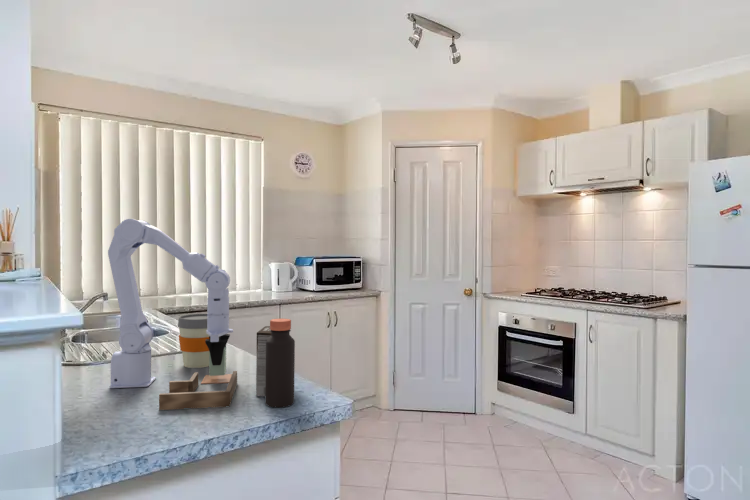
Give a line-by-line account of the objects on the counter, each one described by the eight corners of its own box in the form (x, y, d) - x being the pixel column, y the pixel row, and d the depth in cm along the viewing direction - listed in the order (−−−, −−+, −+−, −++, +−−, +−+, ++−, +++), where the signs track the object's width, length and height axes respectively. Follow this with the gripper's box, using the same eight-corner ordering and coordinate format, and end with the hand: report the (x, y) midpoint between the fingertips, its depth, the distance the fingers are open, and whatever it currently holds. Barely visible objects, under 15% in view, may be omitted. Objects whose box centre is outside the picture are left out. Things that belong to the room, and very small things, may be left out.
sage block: (209, 375, 132) (209, 350, 132) (211, 371, 136) (211, 347, 136) (224, 375, 133) (224, 349, 133) (226, 371, 137) (226, 346, 136)
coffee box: (264, 385, 130) (264, 325, 130) (288, 386, 130) (288, 326, 130) (254, 396, 121) (255, 332, 121) (280, 397, 121) (281, 332, 121)
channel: (159, 410, 110) (159, 394, 110) (176, 386, 129) (176, 373, 129) (229, 406, 113) (229, 391, 113) (237, 383, 132) (237, 370, 132)
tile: (200, 384, 131) (200, 383, 131) (205, 376, 139) (205, 375, 139) (231, 382, 132) (231, 381, 132) (234, 374, 140) (234, 373, 140)
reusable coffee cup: (220, 358, 160) (220, 312, 159) (220, 368, 148) (220, 318, 147) (178, 360, 156) (179, 314, 155) (176, 371, 144) (176, 320, 143)
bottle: (259, 406, 114) (260, 321, 114) (275, 397, 120) (276, 317, 120) (284, 409, 112) (285, 323, 111) (299, 400, 118) (300, 318, 118)
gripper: (230, 317, 128) (230, 369, 128) (235, 310, 142) (235, 356, 142) (202, 318, 126) (201, 370, 127) (210, 310, 141) (210, 357, 141)
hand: (217, 362), depth 134 cm, fingers closed on sage block, 4 cm apart
